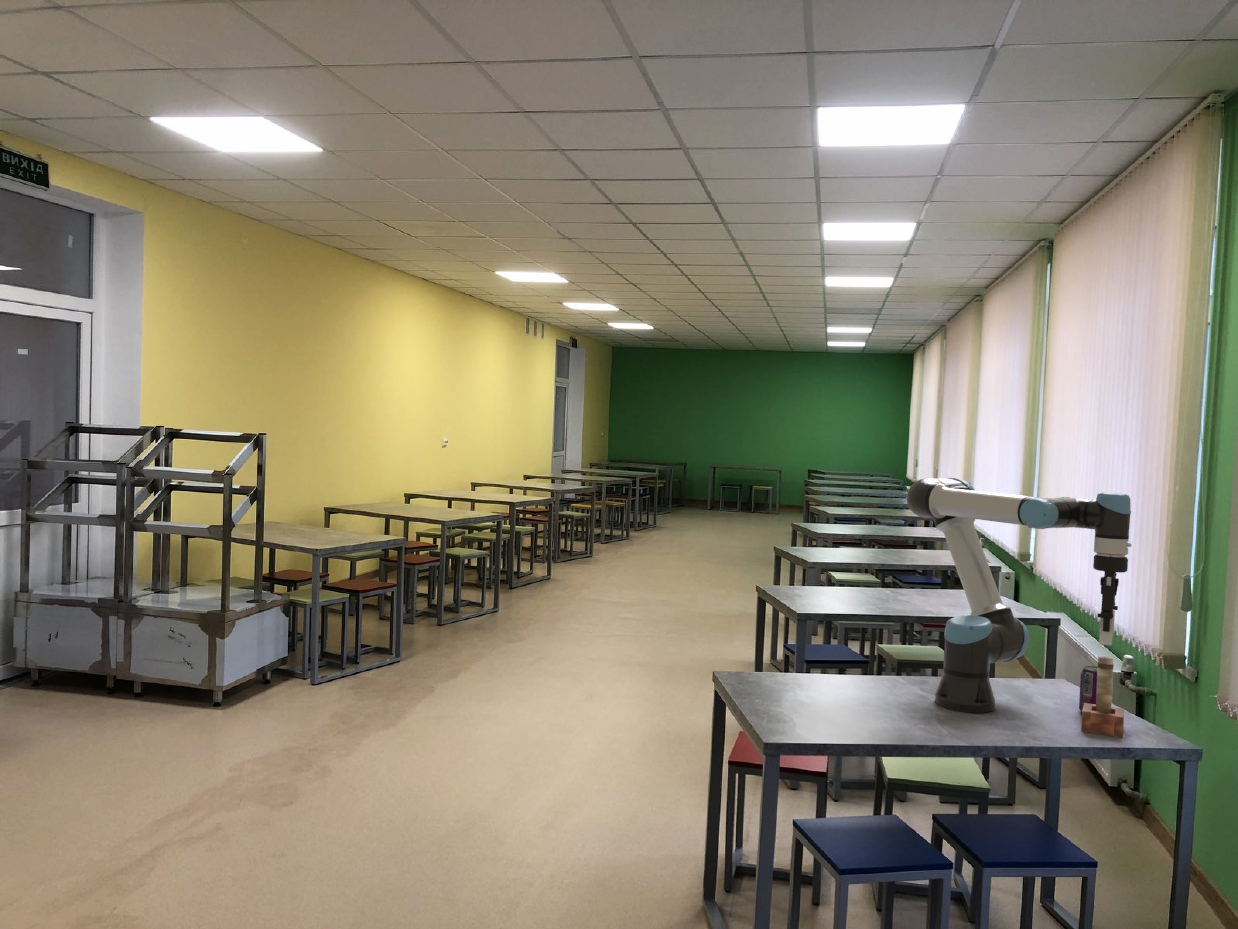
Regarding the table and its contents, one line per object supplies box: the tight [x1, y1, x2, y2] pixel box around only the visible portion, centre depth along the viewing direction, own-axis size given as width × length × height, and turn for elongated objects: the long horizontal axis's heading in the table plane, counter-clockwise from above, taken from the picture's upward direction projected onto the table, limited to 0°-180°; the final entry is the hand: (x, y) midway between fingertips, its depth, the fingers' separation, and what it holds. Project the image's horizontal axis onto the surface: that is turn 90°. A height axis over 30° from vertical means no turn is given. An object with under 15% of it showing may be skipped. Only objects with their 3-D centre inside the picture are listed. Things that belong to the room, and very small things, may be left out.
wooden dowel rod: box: [1096, 656, 1115, 714], centre depth 230 cm, size 4×4×18 cm
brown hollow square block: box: [1080, 703, 1125, 739], centre depth 230 cm, size 9×9×5 cm
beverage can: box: [1078, 665, 1098, 712], centre depth 245 cm, size 7×7×12 cm
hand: (1106, 640), depth 230 cm, fingers open, 13 cm apart
